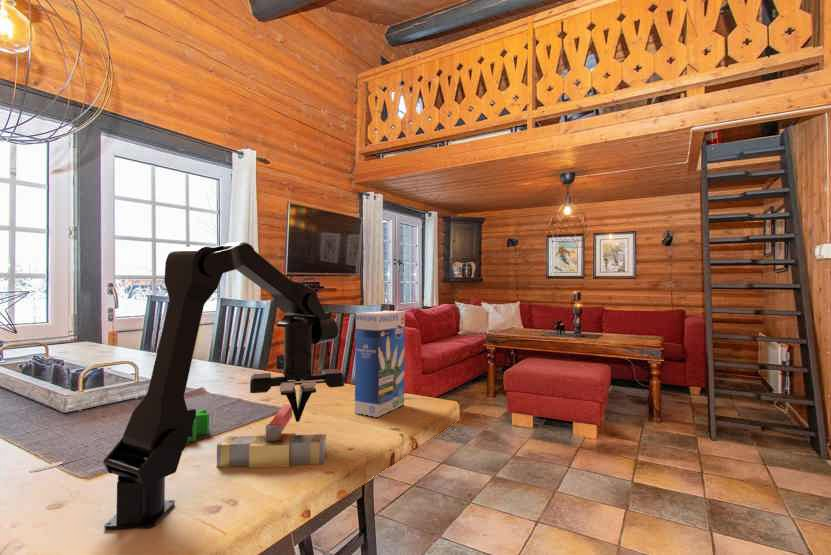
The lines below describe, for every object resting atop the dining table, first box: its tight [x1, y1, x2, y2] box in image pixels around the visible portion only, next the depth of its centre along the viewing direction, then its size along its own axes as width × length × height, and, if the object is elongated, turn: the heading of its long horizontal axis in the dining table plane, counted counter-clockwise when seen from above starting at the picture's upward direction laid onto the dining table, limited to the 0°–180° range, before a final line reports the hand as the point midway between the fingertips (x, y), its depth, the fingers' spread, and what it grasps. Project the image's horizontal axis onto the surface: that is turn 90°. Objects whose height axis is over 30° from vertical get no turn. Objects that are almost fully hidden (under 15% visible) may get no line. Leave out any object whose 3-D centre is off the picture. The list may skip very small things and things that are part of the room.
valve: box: [216, 432, 327, 469], centre depth 80 cm, size 6×19×4 cm, turn 95°
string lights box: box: [354, 310, 406, 418], centre depth 113 cm, size 13×8×26 cm, turn 150°
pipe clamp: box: [188, 408, 210, 442], centre depth 92 cm, size 11×4×5 cm, turn 173°
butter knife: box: [28, 461, 63, 473], centre depth 86 cm, size 1×27×3 cm
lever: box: [265, 403, 293, 441], centre depth 86 cm, size 14×3×3 cm, turn 5°
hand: (297, 421), depth 90 cm, fingers closed
